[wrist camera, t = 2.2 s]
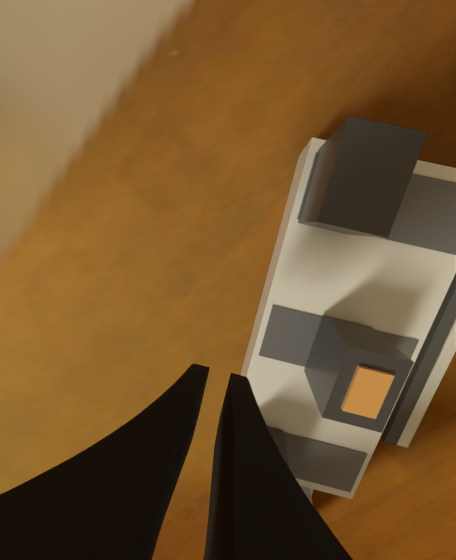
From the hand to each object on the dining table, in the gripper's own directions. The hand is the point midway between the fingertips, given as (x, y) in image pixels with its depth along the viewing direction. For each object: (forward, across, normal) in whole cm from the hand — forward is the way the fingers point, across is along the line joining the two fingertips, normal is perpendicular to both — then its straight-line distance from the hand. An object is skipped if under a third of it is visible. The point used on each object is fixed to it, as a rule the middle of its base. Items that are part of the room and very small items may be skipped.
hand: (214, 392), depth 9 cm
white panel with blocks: (+10, -7, 0) cm, 13 cm away
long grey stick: (+10, -15, 0) cm, 18 cm away
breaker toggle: (+7, -7, 0) cm, 10 cm away
